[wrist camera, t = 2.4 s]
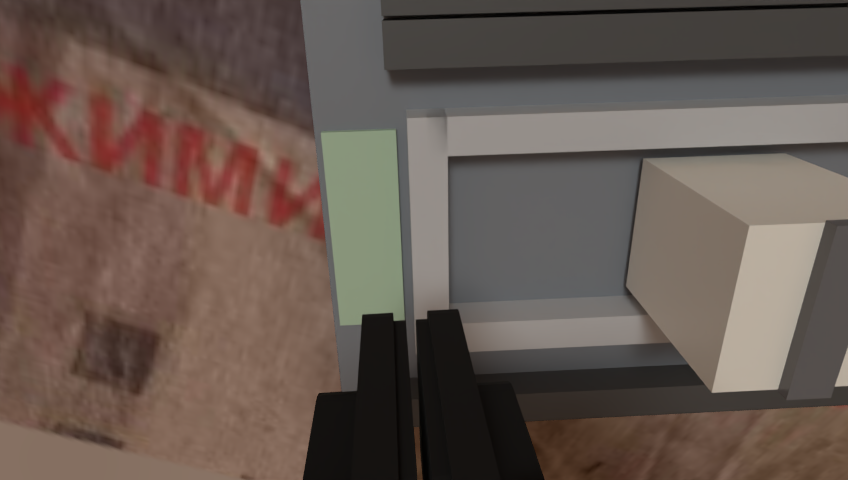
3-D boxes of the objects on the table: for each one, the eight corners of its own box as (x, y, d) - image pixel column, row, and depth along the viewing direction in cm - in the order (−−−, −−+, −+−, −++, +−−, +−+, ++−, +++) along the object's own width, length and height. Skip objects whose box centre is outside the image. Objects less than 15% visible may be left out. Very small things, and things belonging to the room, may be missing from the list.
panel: (1082, -50, 16) (1239, -63, 13) (919, 357, 21) (1002, 414, 18) (309, -30, 15) (287, -38, 12) (349, 385, 21) (341, 449, 18)
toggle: (785, 151, 15) (965, 221, 10) (753, 282, 17) (897, 394, 12) (643, 156, 15) (759, 229, 10) (625, 287, 17) (718, 403, 12)
